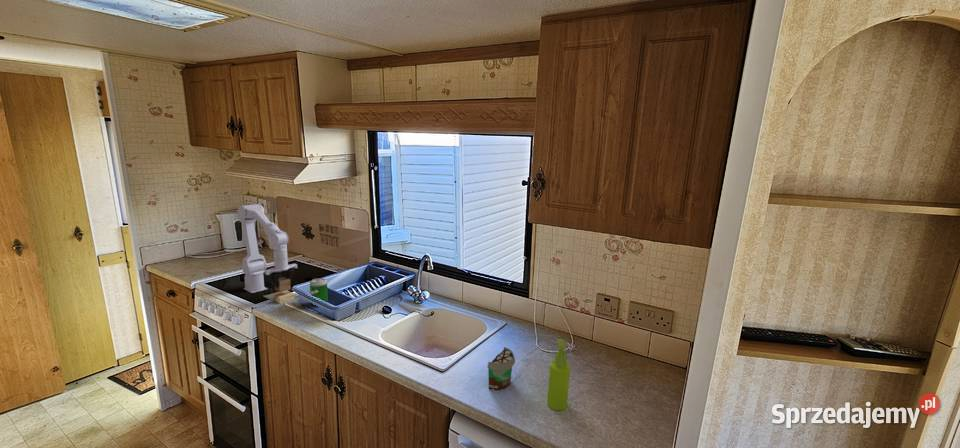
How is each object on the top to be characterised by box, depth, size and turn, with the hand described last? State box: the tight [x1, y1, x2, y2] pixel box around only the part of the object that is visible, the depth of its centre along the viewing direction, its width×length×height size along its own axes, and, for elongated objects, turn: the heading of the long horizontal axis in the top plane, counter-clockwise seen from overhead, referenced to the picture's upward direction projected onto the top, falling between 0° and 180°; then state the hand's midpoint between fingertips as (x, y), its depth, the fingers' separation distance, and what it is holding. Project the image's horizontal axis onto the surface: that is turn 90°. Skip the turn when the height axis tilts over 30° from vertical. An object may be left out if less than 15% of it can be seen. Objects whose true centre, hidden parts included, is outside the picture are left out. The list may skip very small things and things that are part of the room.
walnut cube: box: [274, 276, 292, 292], centre depth 191 cm, size 5×5×5 cm
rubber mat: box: [263, 291, 299, 305], centre depth 196 cm, size 15×11×1 cm
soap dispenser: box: [546, 338, 571, 411], centre depth 121 cm, size 6×7×20 cm
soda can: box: [309, 277, 329, 302], centre depth 189 cm, size 8×8×12 cm
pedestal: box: [271, 290, 295, 305], centre depth 192 cm, size 7×7×3 cm
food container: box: [487, 346, 516, 391], centre depth 130 cm, size 12×6×10 cm, turn 151°
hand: (282, 285), depth 191 cm, fingers closed on walnut cube, 5 cm apart
